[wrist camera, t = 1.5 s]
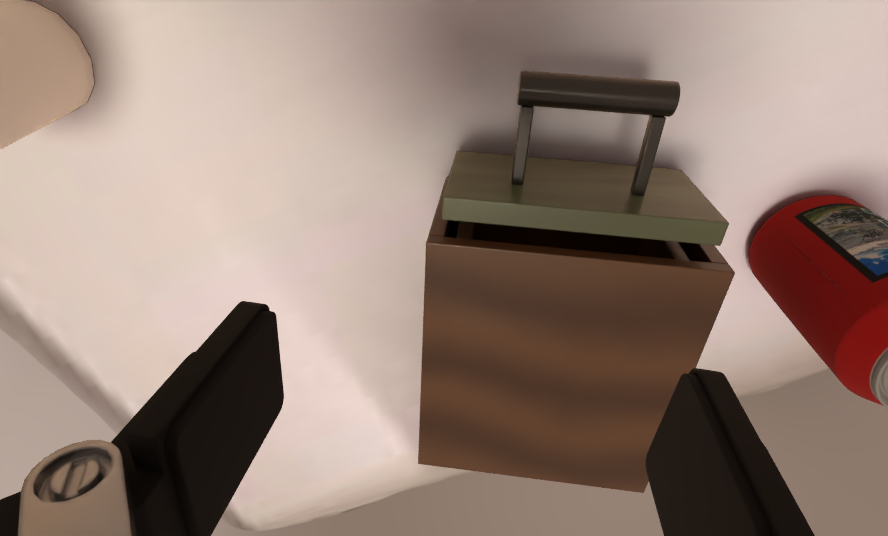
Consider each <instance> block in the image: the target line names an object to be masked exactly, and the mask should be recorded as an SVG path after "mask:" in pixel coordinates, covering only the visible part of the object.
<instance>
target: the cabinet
mask: <svg viewBox="0 0 888 536" xmlns="http://www.w3.org/2000/svg"><path fill="white" fill-rule="evenodd" d="M448 179H449V177H446V180H445V183H444V187H443V190H442V193H441V196H440V200H439V203H438V206H437V209H436V213H435V216H434V219H433V222H432V226H431V229H430V232H429V236H428V239H427V242H426V263H425V290H424V317H423V345H422V372H421V399H420V427H419V454H418V463H419V464H425V465H432V466H440V467H448V468H455V469H463V470H471V471H479V472H486V473H494V474H502V475H510V476H517V477H525V478H533V479H541V480H548V481H556V482H564V483H572V484H580V485H587V486H595V487H602V488H611V489H618V490H626V491H633V492H641V493H643V492H644V491H645V488H646V486H647V484H648V481H649V479H648V475H647V472H646V455H647V452H648V450H649V448H650V445H651V443H652V441H653V439H654V436H655V434H656V432H657V429H658V427H659V425H660V422H661V420H662V418H663V416H664V413H665V411H666V409H667V406H668V404H669V402H670V399H671V397H672V395H673V393H674V390H675V388H676V386H677V383H678V381H679V379H680V377H681V375H682V374H684V373H686V374H689V372H690V371H691V370H692V369H694V368H696V366H697V363H698V361H699V358H700V356H701V353H702V351H703V349H704V346H705V344H706V341H707V339H708V337H709V334H710V332H711V329H712V327H713V325H714V322H715V320H716V317H717V315H718V313H719V310H720V308H721V305H722V303H723V300H724V298H725V296H726V293H727V291H728V288H729V286H730V284H731V281H732V279H733V276H734V274H735V272H734V271H733V269H732V268H731V267H730V266H729V265H728V263H727V261H726V260H725V259H724V257H723V256H722V255H721V254H720V252H719V251H718V250H717V248H716V247H715V246H714V245H706V244H696V243H685V242H678V243H679V244H680V246H681V247H682V249H683V250H684V252H685V254H686V255H687V257H688V258H689V260H690V261H688V260H678V259H667V258H657V257H647V256H636V255H626V254H616V253H605V252H595V251H585V250H574V249H564V248H554V247H543V246H533V245H523V244H512V243H502V242H492V241H481V240H471V239H461V238H456V236H457V231H458V226H459V221H452V220H443V219H442V206H443V196H444V193H445V189H446V186H447V182H448Z"/></svg>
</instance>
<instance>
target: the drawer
mask: <svg viewBox="0 0 888 536" xmlns="http://www.w3.org/2000/svg"><path fill="white" fill-rule="evenodd" d="M679 98H680V85H679V83H678V82H674V81H660V80H646V79H632V78H618V77H605V76H591V75H577V74H563V73H549V72H536V71H521V72H520V78H519V85H518V94H517V105H521V107H520V115H519V122H518V130H517V138H516V146H515V154H514V156H512V155H500V154H488V153H476V152H465V151H457V152H456V155H455V159H454V162H453V165H452V169H451V172H450V176H449V179H448V182H447V186H446V189H445V193H444V196H443V206H442V219H443V220H452V221H459V226H458V231H457V236H456V238H461V239H471V240H481V241H492V242H502V243H512V244H523V245H533V246H543V247H554V248H564V249H574V250H585V251H595V252H605V253H616V254H626V255H636V256H647V257H657V258H667V259H678V260H688V261H690V260H689V258H688V257H687V255H686V254H685V252H684V250H683V249H682V247H681V246H680V244H679V243H678V242H685V243H696V244H706V245H717V246H720V245H721V243H722V240H723V238H724V235H725V232H726V230H727V227H728V225H729V223H728V222H727V220H726V219H725V218H724V217H723V216H722V215H721V214H720V213H719V211H718V210H717V209H716V208H715V207H714V206H713V205H712V204H711V203H710V201H709V200H708V199H707V198H706V197H705V196H704V195H703V194H702V192H701V191H700V190H699V189H698V188H697V187H696V186H695V185H694V184H693V182H692V181H691V180H690V179H689V178H688V177H687V176H686V175H685V173H684V172H683V171H682V170H678V169H666V168H654V167H652V166H653V162H654V159H655V155H656V152H657V148H658V144H659V141H660V137H661V134H662V130H663V126H664V123H665V119H666V118H665V117H664V116H667V117H669V116H672V115H673V114H674V112H675V110H676V108H677V105H678V102H679ZM533 106H538V107H551V108H564V109H577V110H590V111H603V112H615V113H628V114H641V115H650V116H649V120H648V124H647V128H646V132H645V136H644V139H643V143H642V147H641V151H640V155H639V159H638V162H637V166H630V165H618V164H607V163H595V162H583V161H571V160H559V159H547V158H536V157H527V153H528V146H529V139H530V132H531V125H532V118H533V111H534V107H533Z"/></svg>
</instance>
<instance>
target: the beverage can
mask: <svg viewBox="0 0 888 536" xmlns="http://www.w3.org/2000/svg"><path fill="white" fill-rule="evenodd" d="M749 262H750V267H751V270H752V272H753V274H754V276H755V277H756V278H757V279H758V281H759V282H760V283H761V285H762V286H763V287H764V288H765V290H766V291H767V292H768V293H769V295H770V296H771V297H772V299H773V300H774V301H775V302H776V304H777V305H778V306H779V307H780V309H781V310H782V311H783V312H784V314H785V315H786V316H787V317H788V318H789V320H790V321H791V322H792V323H793V325H794V326H795V327H796V328H797V330H798V331H799V332H800V333H801V334H802V336H803V337H804V338H805V339H806V341H807V342H808V343H809V344H810V346H811V347H812V348H813V349H814V350H815V352H816V353H817V354H818V355H819V356H820V357H821V359H822V360H823V361H824V362H825V363H826V365H827V366H828V367H829V368H830V369H831V371H832V372H833V373H834V374H835V375H836V377H837V378H838V379H839V380H840V381H841V382H842V384H843V385H844V386H845V387H846V388H847V389H849V390H850V391H852V392H853V393H855V394H857V395H858V396H860V397H863V398H865V399H868V400H870V401H873V402H875V403H878V404H881V405H883V406H884V407H886V408H887V409H888V221H887V220H885V219H883V218H882V217H880V216H879V215H877V214H875V213H874V212H872V211H871V210H869V209H867V208H866V207H864V206H863V205H861V204H859V203H858V202H856V201H854V200H852V199H849V198H846V197H841V196H834V195H823V196H815V197H810V198H806V199H802V200H800V201H797V202H794V203H792V204H790V205H788V206H786V207H784V208H783V209H781V210H780V211H778V212H777V213H775V214H774V215H773V216H772V217H770V218H769V219H768V220H767V221H766V222H765V223H764V224H763V225H762V227H761V228H760V229H759V231H758V232H757V234H756V235H755V237H754V239H753V241H752V244H751V247H750V252H749Z"/></svg>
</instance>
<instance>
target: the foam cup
mask: <svg viewBox="0 0 888 536" xmlns="http://www.w3.org/2000/svg"><path fill="white" fill-rule="evenodd" d="M93 86H94V77H93V69H92V62H91V59H90V57H89V55H88V53H87V51H86V49H85V47H84V45H83V43H82V41H81V40H80V38H79V36H78V34H77V33H76V32H75V31H74V30H73V29H72V28H71V27H70V26H69V25H68V24H67V23H66V22H65V21H64V20H63V19H62V18H61V17H60V16H59V15H58V14H57V13H55V12H53V11H51V10H49V9H47V8H45V7H43V6H41V5H39V4H37V3H35V2H33V1H24V0H0V149H2V148H4V147H6V146H8V145H10V144H12V143H13V142H15V141H17V140H19V139H21V138H23V137H25V136H27V135H29V134H31V133H32V132H34V131H36V130H38V129H40V128H42V127H44V126H46V125H48V124H49V123H51V122H53V121H55V120H57V119H59V118H61V117H63V116H65V115H66V114H68V113H70V112H71V111H73V110H75V109H77V108H78V107H80V106H82V105H83V104H85V103H87V102H88V99H89V97H90V94H91V92H92V89H93Z"/></svg>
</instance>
